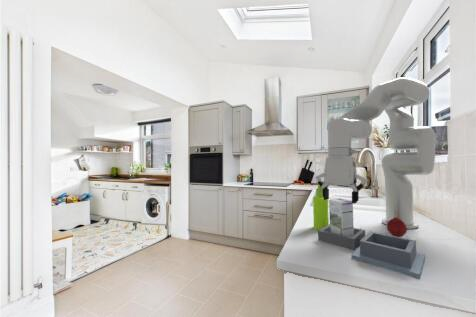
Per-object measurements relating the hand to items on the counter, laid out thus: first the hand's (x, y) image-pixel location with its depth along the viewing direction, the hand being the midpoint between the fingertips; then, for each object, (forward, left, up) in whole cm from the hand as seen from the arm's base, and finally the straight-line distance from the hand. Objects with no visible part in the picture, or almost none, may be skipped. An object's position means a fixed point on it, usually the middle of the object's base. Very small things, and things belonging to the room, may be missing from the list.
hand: (339, 201), depth 74 cm
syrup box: (-1, 0, -14) cm, 14 cm away
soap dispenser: (-9, -10, -14) cm, 20 cm away
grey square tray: (-1, 0, -14) cm, 14 cm away
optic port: (+4, +15, -14) cm, 21 cm away
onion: (-17, +14, -14) cm, 26 cm away
